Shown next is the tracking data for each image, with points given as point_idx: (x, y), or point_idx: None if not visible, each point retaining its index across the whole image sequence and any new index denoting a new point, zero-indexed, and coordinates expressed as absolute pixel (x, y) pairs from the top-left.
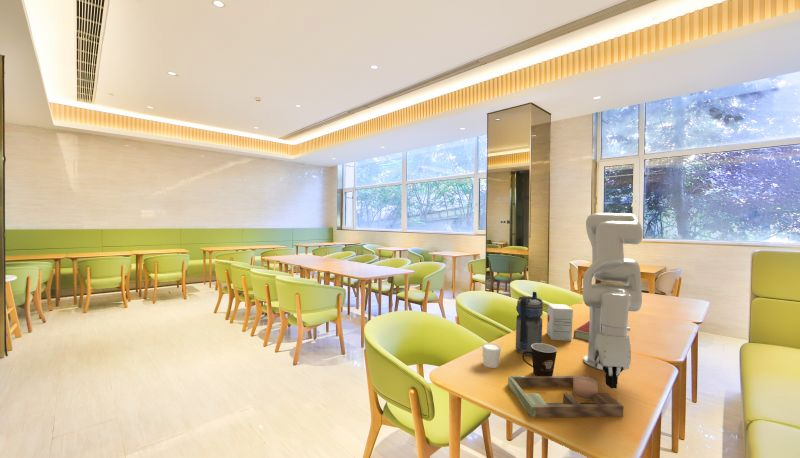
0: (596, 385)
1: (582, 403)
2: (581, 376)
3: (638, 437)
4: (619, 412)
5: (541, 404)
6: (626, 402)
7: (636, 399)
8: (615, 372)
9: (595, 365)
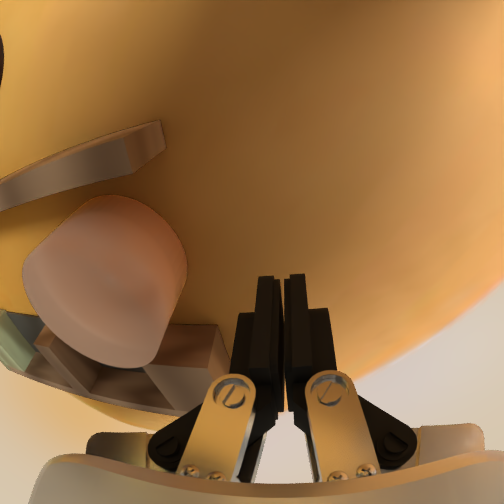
0: (143, 365)
1: None
2: (56, 259)
3: None
4: None
5: (15, 368)
6: (330, 320)
7: (412, 290)
8: (307, 437)
9: (92, 451)
